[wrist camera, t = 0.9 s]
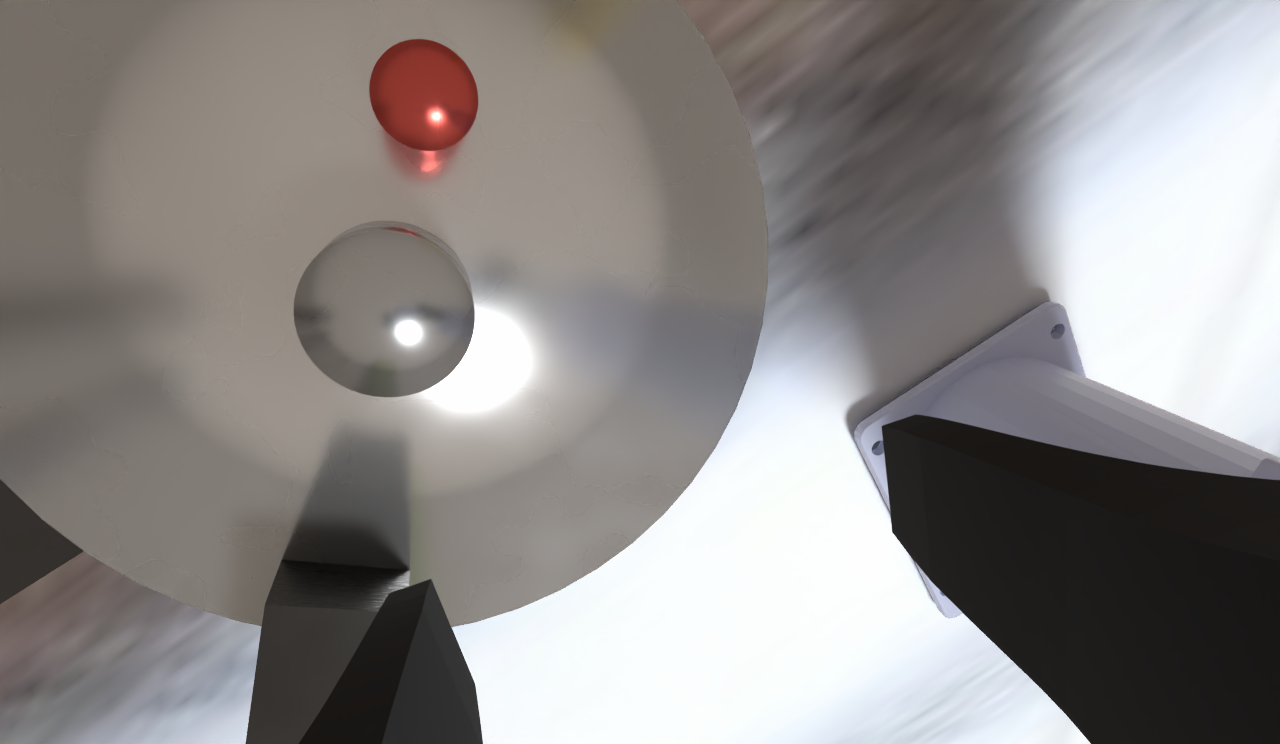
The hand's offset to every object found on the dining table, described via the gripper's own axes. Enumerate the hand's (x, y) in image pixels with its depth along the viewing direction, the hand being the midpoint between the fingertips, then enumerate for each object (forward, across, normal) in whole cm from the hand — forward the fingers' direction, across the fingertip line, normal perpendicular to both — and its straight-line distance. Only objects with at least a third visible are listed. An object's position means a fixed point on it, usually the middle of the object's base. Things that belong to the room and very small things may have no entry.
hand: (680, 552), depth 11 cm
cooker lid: (+5, +5, -1) cm, 7 cm away
